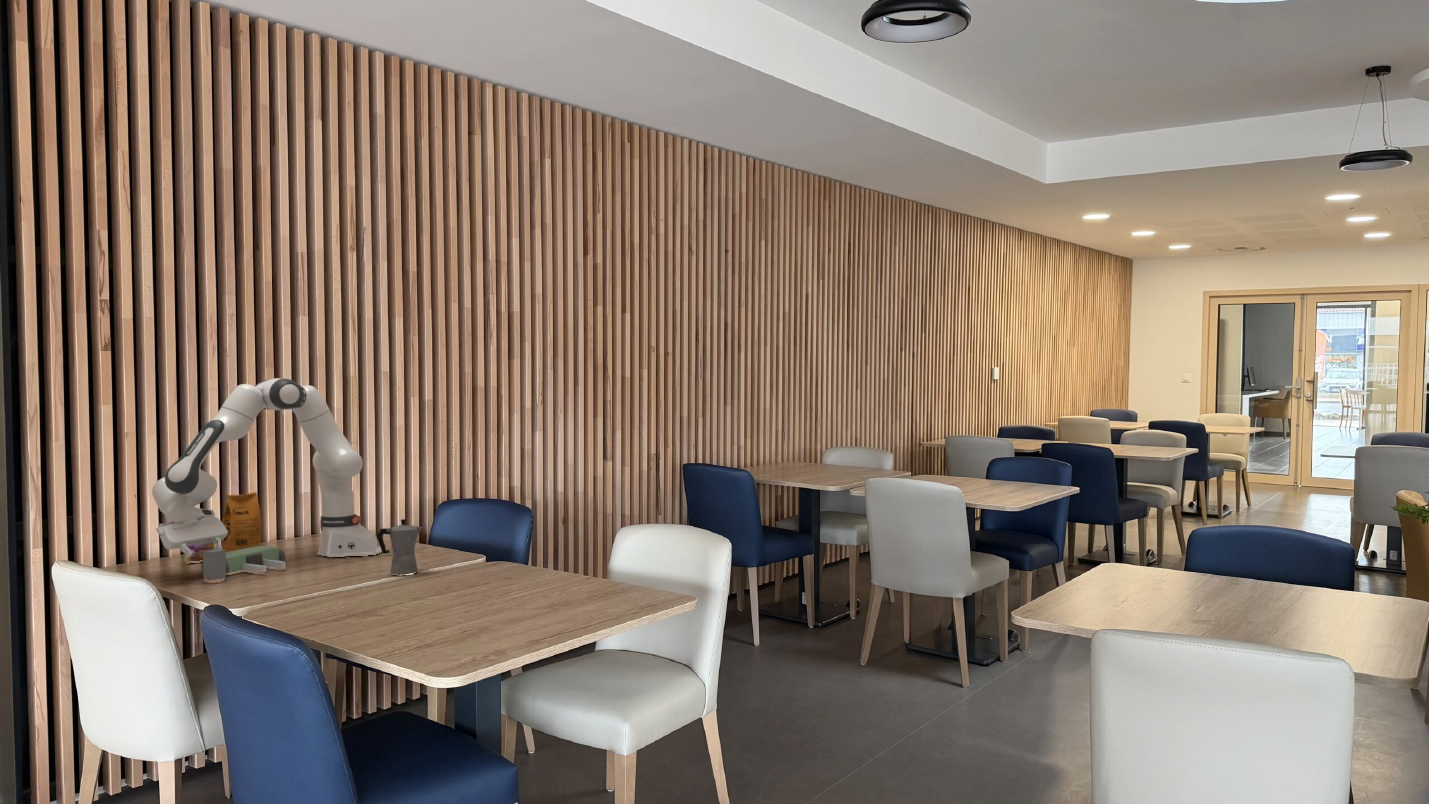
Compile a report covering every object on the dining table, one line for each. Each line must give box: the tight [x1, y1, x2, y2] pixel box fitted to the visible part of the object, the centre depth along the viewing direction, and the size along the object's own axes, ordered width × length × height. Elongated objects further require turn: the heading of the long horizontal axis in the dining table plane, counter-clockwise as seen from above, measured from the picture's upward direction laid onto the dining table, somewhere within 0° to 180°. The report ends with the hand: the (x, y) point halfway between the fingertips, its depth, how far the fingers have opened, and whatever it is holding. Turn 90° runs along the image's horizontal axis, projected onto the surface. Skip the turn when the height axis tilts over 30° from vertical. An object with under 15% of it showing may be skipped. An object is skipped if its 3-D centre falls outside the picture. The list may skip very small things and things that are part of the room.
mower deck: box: [201, 545, 287, 573], centre depth 314 cm, size 23×20×6 cm
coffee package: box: [220, 491, 262, 552], centre depth 344 cm, size 10×12×22 cm
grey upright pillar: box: [202, 549, 227, 580], centre depth 297 cm, size 4×4×10 cm
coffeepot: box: [376, 518, 424, 575], centre depth 308 cm, size 15×9×18 cm, turn 129°
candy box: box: [183, 542, 215, 562], centre depth 327 cm, size 9×4×15 cm, turn 134°
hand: (205, 553), depth 298 cm, fingers open, 8 cm apart
